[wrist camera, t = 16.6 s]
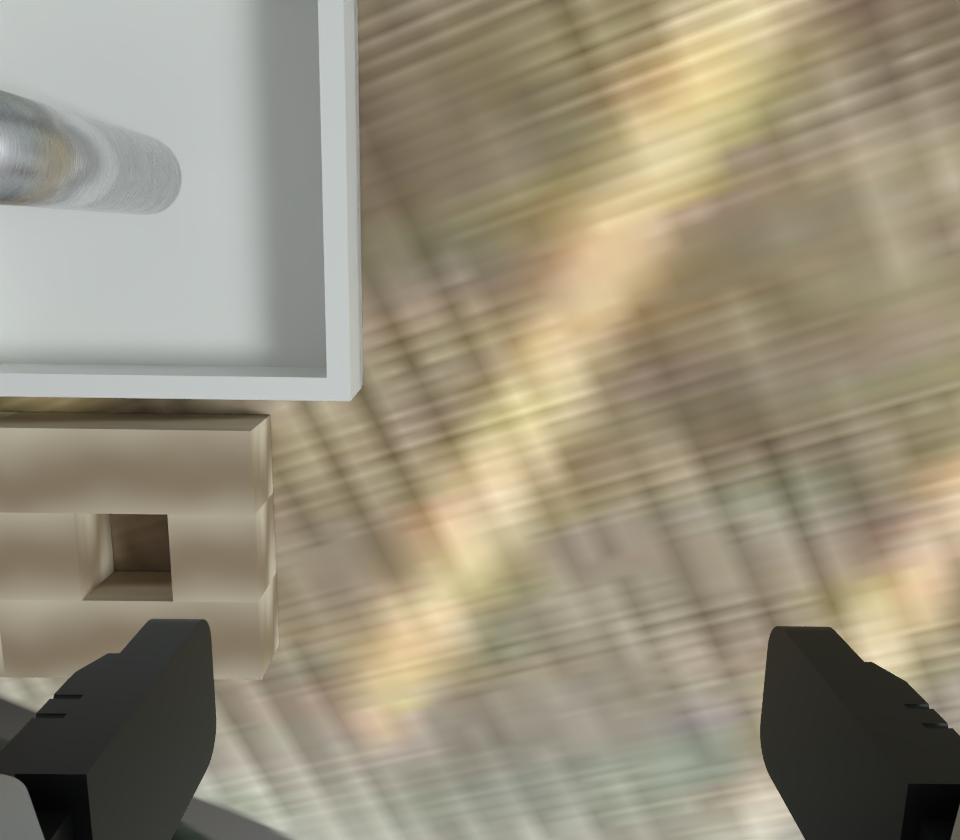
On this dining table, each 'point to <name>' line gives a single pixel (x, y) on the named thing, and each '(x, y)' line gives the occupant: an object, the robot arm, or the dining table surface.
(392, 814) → the dining table surface
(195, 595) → the wooden peg base
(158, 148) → the lock pin
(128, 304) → the tray
